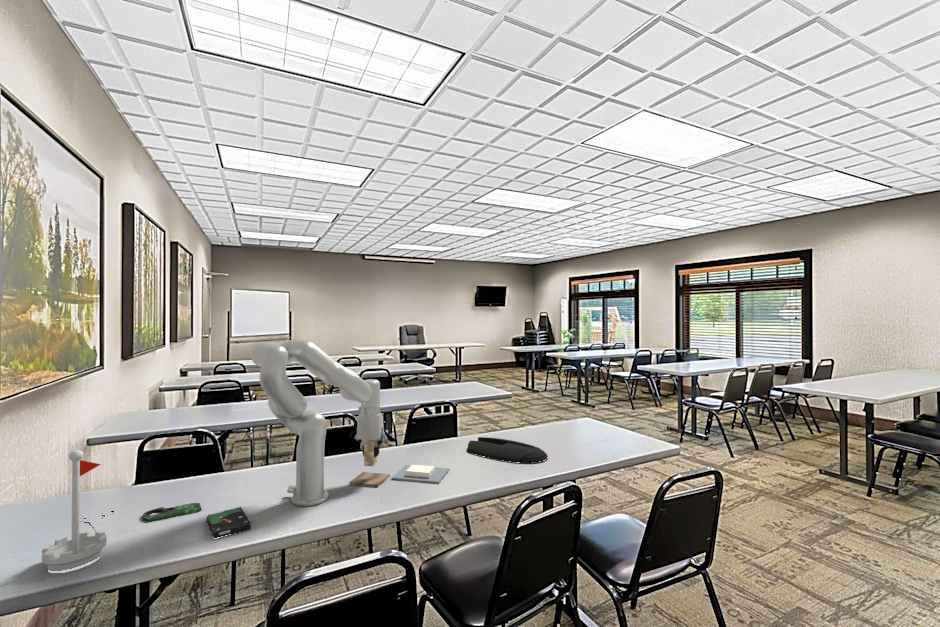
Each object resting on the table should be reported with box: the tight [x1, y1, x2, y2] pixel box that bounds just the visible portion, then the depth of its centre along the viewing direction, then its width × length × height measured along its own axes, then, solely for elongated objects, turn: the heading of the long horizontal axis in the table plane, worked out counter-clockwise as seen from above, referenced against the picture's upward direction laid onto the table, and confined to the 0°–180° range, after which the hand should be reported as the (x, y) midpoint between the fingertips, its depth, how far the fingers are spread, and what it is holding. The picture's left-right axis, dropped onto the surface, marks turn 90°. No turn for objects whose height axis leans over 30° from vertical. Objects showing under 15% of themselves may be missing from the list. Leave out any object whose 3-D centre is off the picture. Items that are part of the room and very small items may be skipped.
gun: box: [141, 502, 202, 523], centre depth 150 cm, size 16×2×10 cm
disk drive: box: [205, 506, 252, 538], centre depth 141 cm, size 10×3×15 cm
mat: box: [391, 464, 451, 485], centre depth 187 cm, size 20×16×1 cm
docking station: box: [467, 436, 549, 464], centre depth 217 cm, size 25×40×5 cm, turn 55°
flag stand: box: [41, 449, 108, 571], centre depth 120 cm, size 13×13×30 cm
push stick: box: [363, 440, 379, 467], centre depth 180 cm, size 4×4×11 cm
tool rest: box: [348, 471, 391, 488], centre depth 180 cm, size 12×12×1 cm
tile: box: [406, 464, 436, 478], centre depth 185 cm, size 10×2×8 cm
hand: (370, 455), depth 180 cm, fingers closed on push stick, 4 cm apart
